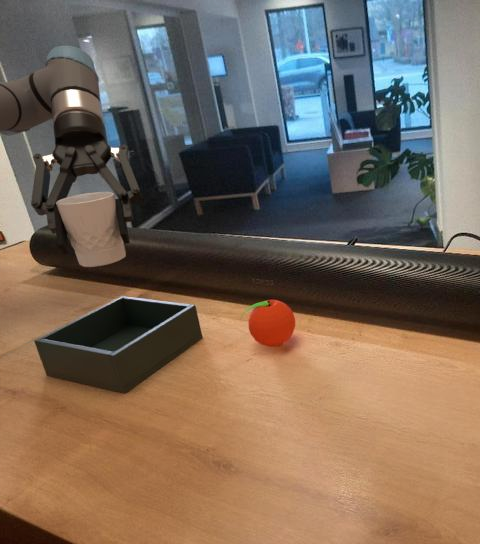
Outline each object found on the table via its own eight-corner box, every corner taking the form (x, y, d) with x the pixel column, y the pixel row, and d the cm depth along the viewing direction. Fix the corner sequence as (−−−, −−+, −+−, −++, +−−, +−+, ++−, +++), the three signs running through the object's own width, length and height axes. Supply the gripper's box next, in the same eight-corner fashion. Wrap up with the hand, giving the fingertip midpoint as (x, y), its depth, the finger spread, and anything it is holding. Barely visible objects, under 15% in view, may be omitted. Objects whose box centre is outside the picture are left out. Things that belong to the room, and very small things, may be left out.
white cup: (129, 262, 76) (112, 198, 72) (72, 272, 73) (51, 206, 70) (131, 248, 83) (115, 189, 79) (78, 257, 80) (60, 197, 76)
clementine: (242, 358, 72) (233, 314, 69) (248, 336, 78) (240, 295, 75) (297, 352, 72) (291, 308, 69) (298, 330, 78) (292, 289, 76)
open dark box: (46, 375, 72) (33, 340, 69) (130, 326, 85) (122, 295, 83) (125, 393, 66) (113, 355, 63) (203, 337, 79) (195, 304, 77)
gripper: (149, 134, 88) (170, 243, 80) (18, 148, 82) (26, 268, 74) (141, 103, 82) (163, 219, 73) (-3, 116, 76) (4, 244, 67)
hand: (94, 243), depth 74 cm, fingers closed on white cup, 8 cm apart
